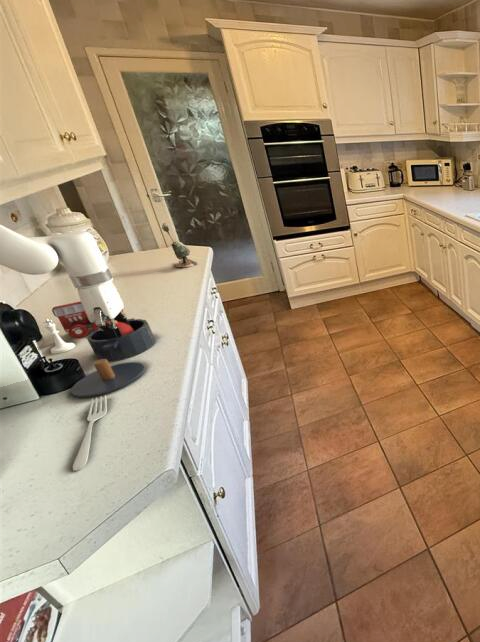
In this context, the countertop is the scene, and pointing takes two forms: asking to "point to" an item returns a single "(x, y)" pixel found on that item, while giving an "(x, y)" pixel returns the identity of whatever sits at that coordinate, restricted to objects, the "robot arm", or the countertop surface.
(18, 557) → the countertop surface
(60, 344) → the chess piece
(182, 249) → the plant with pod
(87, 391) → the lid
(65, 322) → the toy fire truck
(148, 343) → the pan
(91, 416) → the fork
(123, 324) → the onion
